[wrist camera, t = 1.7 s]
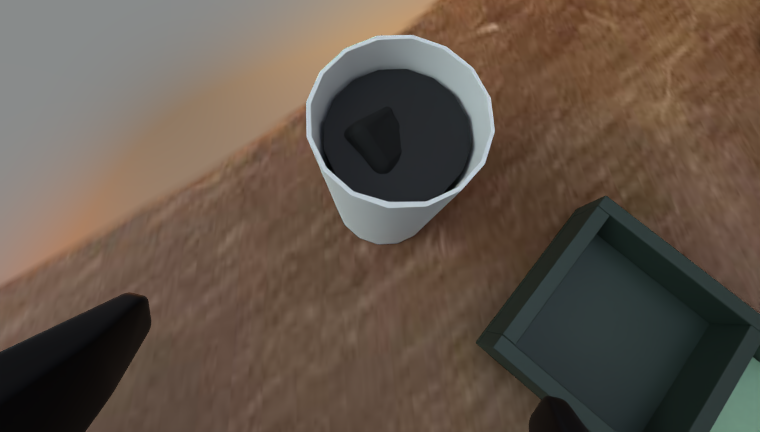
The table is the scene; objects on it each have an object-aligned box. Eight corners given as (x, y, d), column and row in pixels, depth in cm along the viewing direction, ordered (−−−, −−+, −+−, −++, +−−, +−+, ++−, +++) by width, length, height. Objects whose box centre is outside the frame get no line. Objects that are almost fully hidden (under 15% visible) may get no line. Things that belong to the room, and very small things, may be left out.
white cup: (373, 275, 23) (382, 249, 13) (305, 184, 24) (266, 96, 14) (463, 208, 24) (533, 136, 14) (395, 124, 25) (416, 3, 15)
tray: (783, 609, 20) (856, 660, 17) (475, 342, 22) (492, 347, 19) (866, 436, 22) (944, 455, 19) (576, 208, 24) (605, 194, 21)
